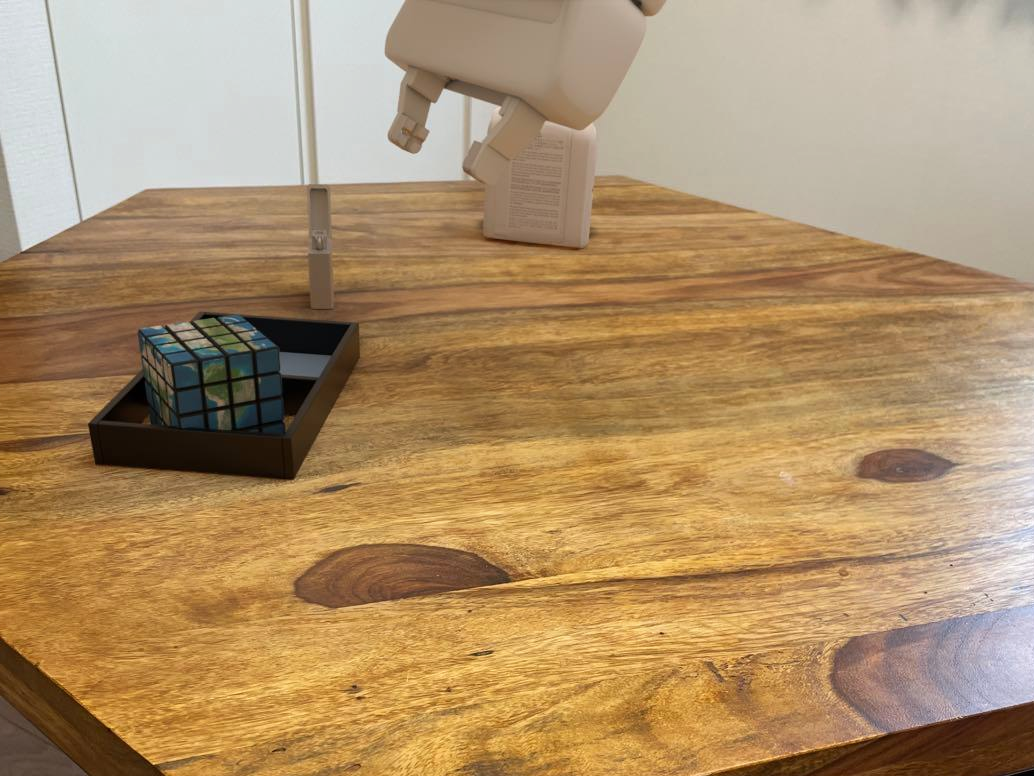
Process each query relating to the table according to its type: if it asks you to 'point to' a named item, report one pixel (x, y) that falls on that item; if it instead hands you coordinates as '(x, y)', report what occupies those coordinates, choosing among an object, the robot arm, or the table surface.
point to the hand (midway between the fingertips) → (436, 162)
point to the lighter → (320, 247)
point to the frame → (306, 395)
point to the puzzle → (212, 376)
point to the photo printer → (545, 189)
